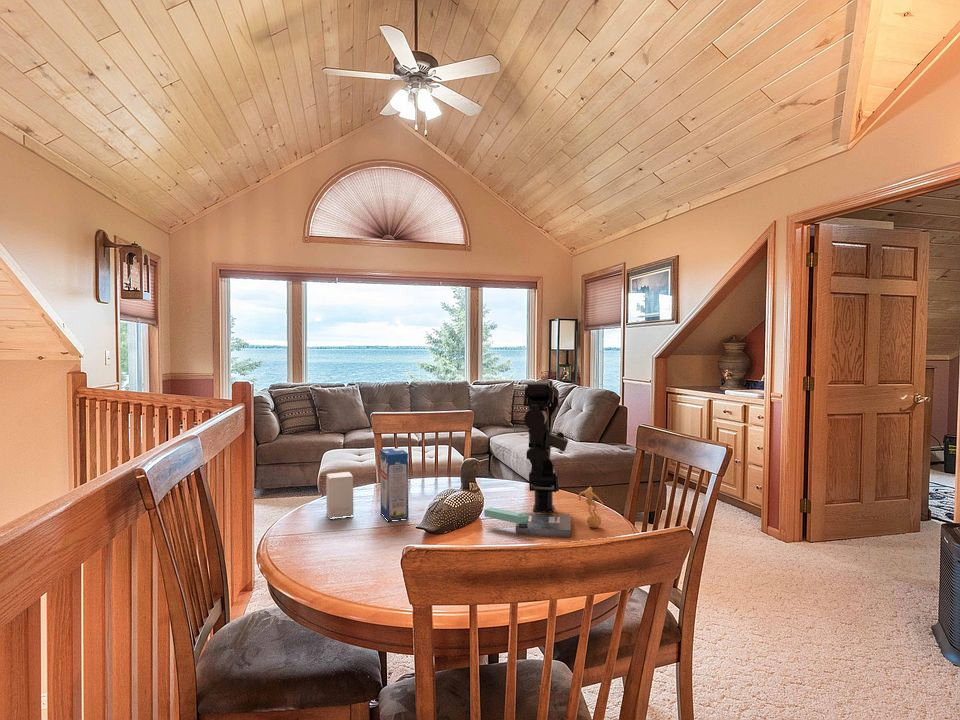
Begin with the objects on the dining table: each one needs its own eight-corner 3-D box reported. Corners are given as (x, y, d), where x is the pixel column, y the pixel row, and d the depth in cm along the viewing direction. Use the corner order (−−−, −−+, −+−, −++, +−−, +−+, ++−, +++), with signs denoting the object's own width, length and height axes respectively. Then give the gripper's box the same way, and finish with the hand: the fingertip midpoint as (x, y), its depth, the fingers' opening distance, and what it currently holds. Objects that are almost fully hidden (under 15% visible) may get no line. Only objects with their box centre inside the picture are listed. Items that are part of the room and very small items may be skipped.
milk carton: (380, 513, 169) (380, 449, 168) (400, 510, 171) (399, 447, 171) (388, 522, 159) (387, 455, 159) (408, 519, 162) (408, 453, 161)
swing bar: (484, 516, 155) (484, 509, 155) (490, 513, 157) (490, 507, 157) (524, 525, 147) (524, 517, 147) (530, 522, 149) (530, 514, 149)
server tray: (519, 519, 162) (519, 510, 162) (569, 521, 160) (569, 512, 160) (515, 535, 148) (515, 525, 148) (571, 537, 146) (571, 527, 146)
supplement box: (354, 517, 165) (353, 476, 164) (328, 520, 162) (328, 478, 162) (350, 510, 171) (350, 471, 171) (326, 513, 169) (325, 473, 168)
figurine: (610, 529, 152) (610, 486, 152) (598, 534, 148) (598, 490, 148) (586, 522, 158) (585, 481, 158) (573, 527, 154) (573, 485, 154)
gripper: (567, 430, 148) (567, 486, 148) (565, 421, 167) (566, 471, 167) (526, 429, 150) (526, 485, 150) (529, 420, 168) (529, 470, 168)
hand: (538, 478), depth 159 cm, fingers closed
